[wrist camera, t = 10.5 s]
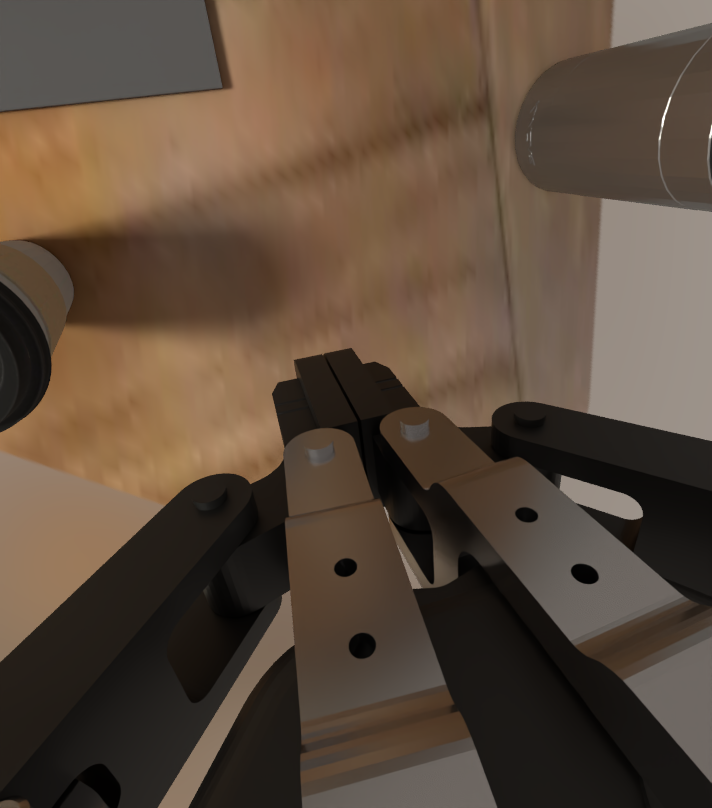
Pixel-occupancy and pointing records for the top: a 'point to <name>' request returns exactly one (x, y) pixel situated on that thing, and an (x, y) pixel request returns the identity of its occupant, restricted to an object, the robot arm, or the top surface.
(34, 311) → the coffee cup
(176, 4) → the mat
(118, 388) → the top surface
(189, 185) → the top surface
